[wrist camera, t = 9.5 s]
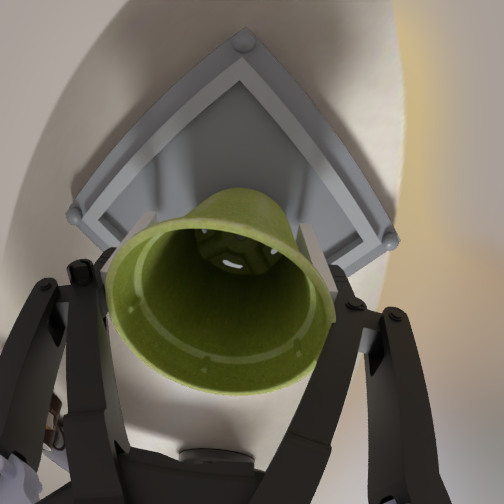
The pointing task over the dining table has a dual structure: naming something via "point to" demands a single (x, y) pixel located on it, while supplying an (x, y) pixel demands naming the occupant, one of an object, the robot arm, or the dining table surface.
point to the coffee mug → (53, 424)
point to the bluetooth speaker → (56, 455)
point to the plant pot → (221, 298)
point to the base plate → (237, 159)
